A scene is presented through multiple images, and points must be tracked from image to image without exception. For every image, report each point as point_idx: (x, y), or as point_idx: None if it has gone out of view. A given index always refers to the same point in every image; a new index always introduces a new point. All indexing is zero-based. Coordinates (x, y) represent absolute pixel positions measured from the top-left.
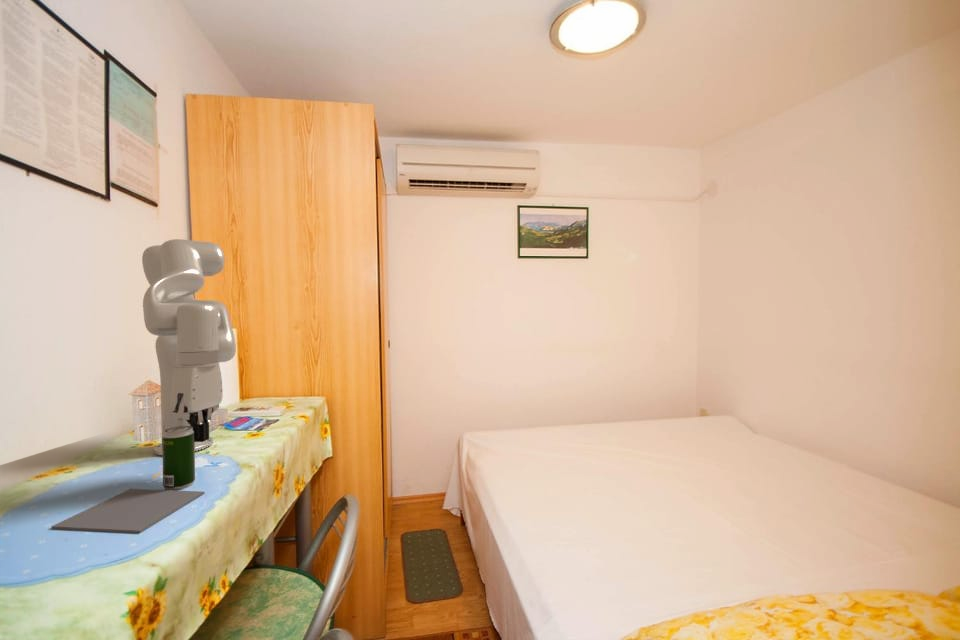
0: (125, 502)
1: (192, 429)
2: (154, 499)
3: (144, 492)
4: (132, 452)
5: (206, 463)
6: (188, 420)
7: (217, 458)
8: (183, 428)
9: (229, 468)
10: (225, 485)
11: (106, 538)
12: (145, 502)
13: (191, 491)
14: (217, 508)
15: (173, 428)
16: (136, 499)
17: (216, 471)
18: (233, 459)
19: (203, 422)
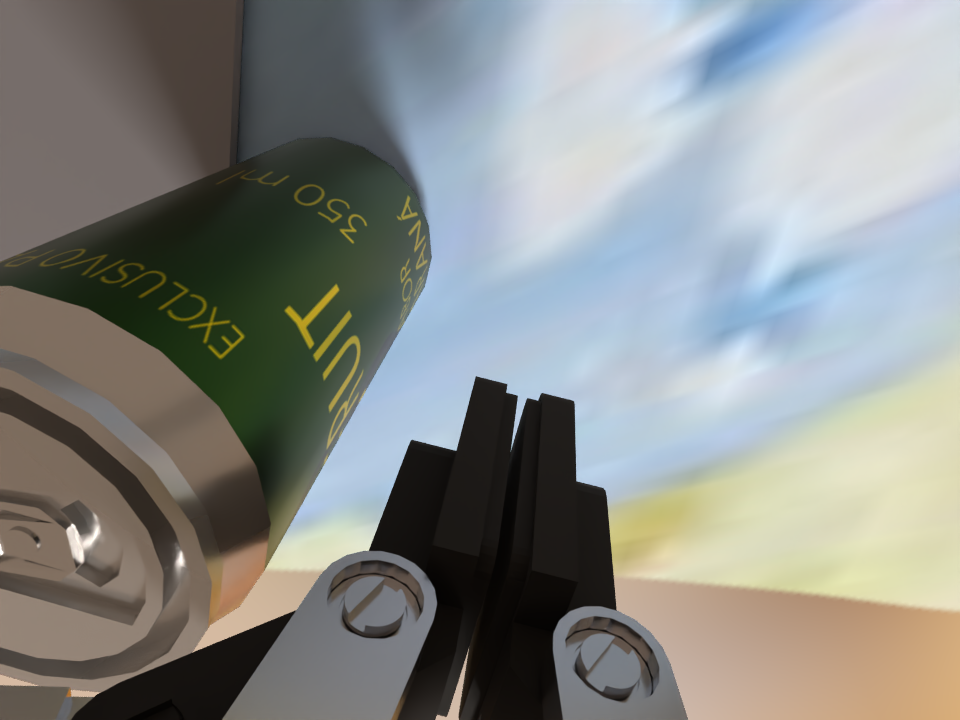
0: (19, 16)
1: (142, 656)
2: (90, 208)
3: (177, 55)
4: None
5: (806, 228)
6: (211, 678)
7: (923, 273)
8: (126, 556)
9: (618, 444)
10: (331, 503)
11: None
12: (44, 174)
13: None
14: None
15: (21, 446)
16: (73, 72)
17: (576, 379)
18: (830, 412)
19: (480, 709)
